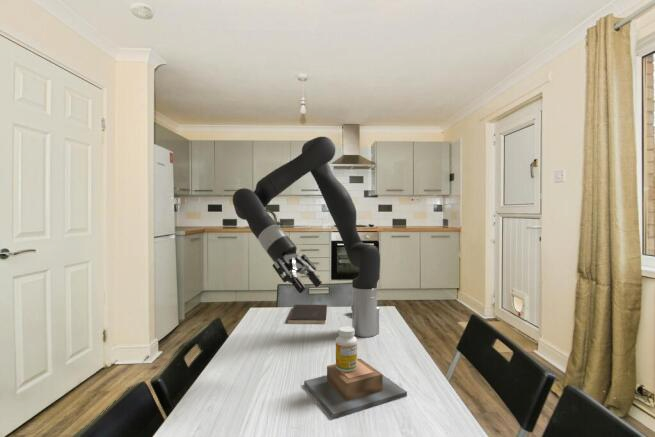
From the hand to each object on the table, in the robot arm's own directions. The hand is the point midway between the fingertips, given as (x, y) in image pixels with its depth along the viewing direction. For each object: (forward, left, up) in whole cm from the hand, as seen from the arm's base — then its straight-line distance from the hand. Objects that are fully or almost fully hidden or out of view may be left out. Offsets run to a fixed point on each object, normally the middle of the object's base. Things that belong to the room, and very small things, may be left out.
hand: (311, 287), depth 88 cm
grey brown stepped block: (-7, +11, -24) cm, 27 cm away
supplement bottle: (-5, +10, -19) cm, 22 cm away
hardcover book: (-22, -52, -25) cm, 62 cm away
